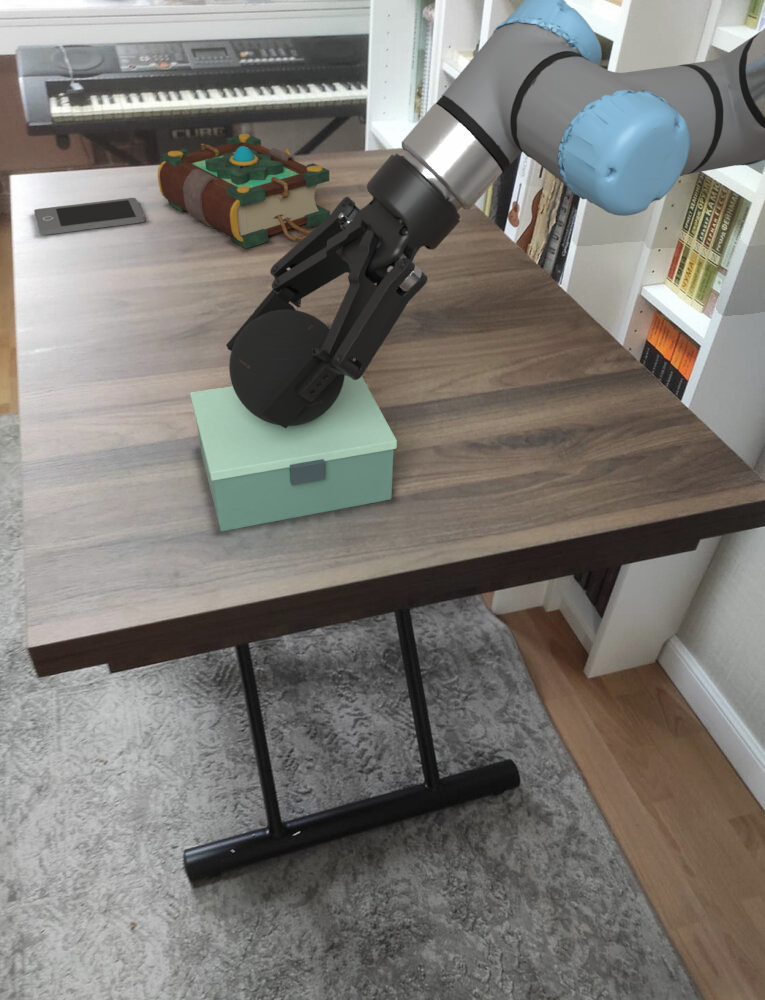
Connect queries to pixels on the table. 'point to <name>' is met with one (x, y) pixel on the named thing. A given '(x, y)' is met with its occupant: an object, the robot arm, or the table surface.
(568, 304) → the table surface
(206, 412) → the box
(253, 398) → the speaker
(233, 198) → the book
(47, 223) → the smartphone
